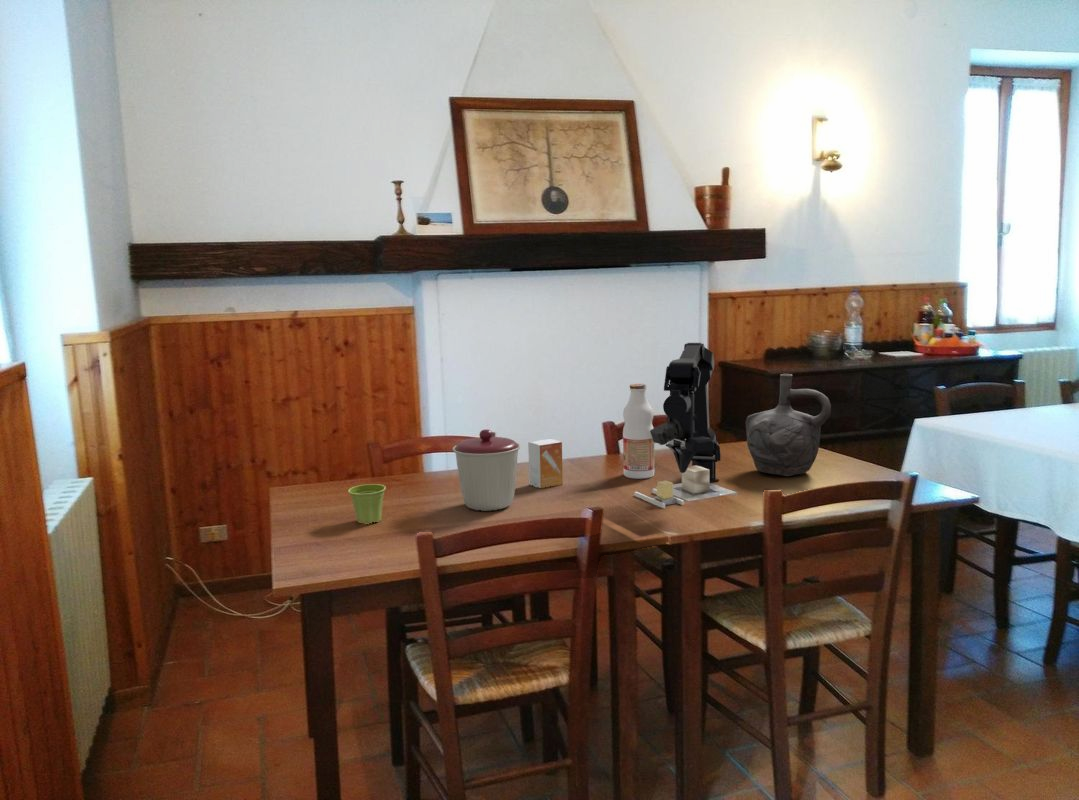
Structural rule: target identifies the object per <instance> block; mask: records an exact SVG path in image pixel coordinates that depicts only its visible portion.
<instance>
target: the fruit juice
mask: <svg viewBox="0 0 1079 800" xmlns="http://www.w3.org/2000/svg"><path fill="white" fill-rule="evenodd" d="M629 390H630V394H629V399H628V402H627V404H626V405H625V407H624V408H623V411H622V415H623V417H622V418H623V420H624V424H623V425H624V426H623V429H622V447H623V448H622V453H623V454H622V456H623V459H622V461H623V463H622V465H623V469H622V470H623V475H624V477H625V478H628V479H634V480H635V479H636V480H638V479H640V480H643V479H650V478H652V477H654V476H655V443H654V442H653V439H652V436H651V433H650V430H652V429H654V428H655V427H654V426H653V420H654V414H655V413H654V409H653V407H652V406H651V403H650V402H649V400H648V397H647V393H646V390H647V384H645V383H631V384H629Z"/></svg>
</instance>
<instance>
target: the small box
mask: <svg viewBox="0 0 1079 800" xmlns="http://www.w3.org/2000/svg"><path fill="white" fill-rule="evenodd" d="M527 445H528V447H527V448H528V480H529V481H528V482H529V486H532V485H534V486H536V487H535V488H537V487H539V488H538V489H540V488H541V489H545V487H546V488H551V487H556V485H557V486H562V485H563V484H564V482H563V474H564V473H563V442H562V441H560V440H558V439H553V438H548V439H547V438H546V439H540V440H536V441H535V440H534V441H529V442H528V443H527ZM561 484H562V485H561ZM534 486H533V487H534ZM550 486H551V487H550Z"/></svg>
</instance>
